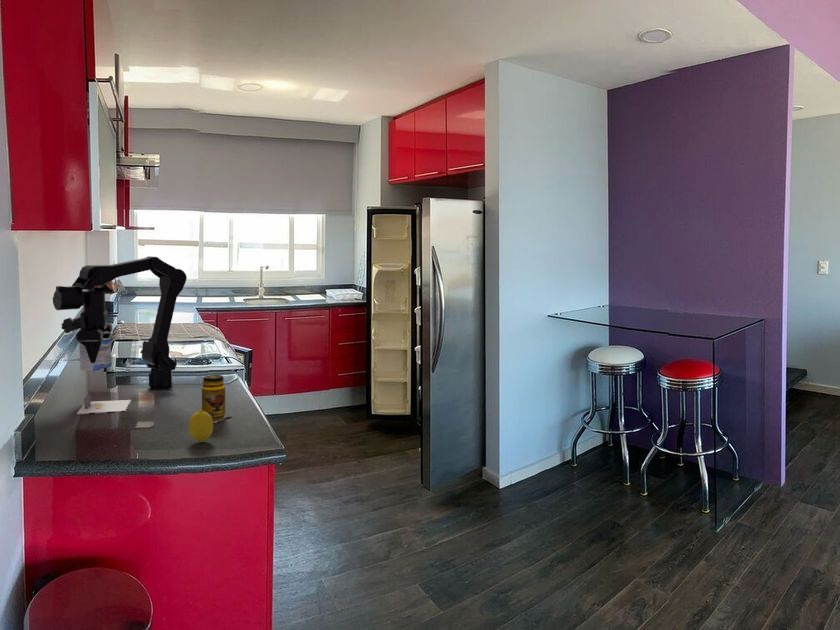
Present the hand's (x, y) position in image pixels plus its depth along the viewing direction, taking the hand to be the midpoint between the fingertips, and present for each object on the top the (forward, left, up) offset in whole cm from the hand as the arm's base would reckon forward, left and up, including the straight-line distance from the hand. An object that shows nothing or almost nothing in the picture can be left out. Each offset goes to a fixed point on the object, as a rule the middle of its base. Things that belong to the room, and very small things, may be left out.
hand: (96, 359), depth 180 cm
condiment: (-33, +28, -12) cm, 45 cm away
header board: (-4, +11, -12) cm, 17 cm away
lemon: (-31, +48, -12) cm, 59 cm away
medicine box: (0, 0, -3) cm, 3 cm away
